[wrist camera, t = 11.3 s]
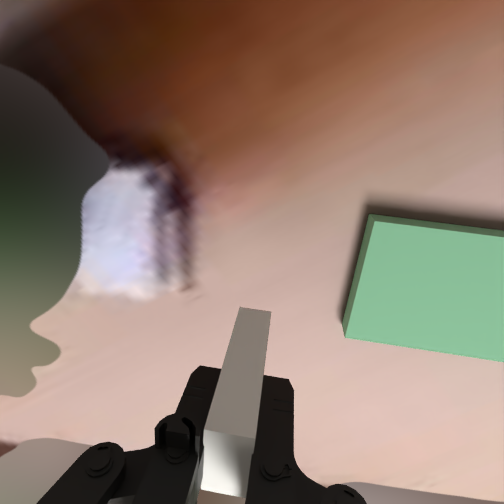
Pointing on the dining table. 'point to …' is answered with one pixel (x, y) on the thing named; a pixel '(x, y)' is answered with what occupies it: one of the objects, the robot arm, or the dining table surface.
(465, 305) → the putting mat
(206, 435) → the robot arm
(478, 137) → the dining table surface
